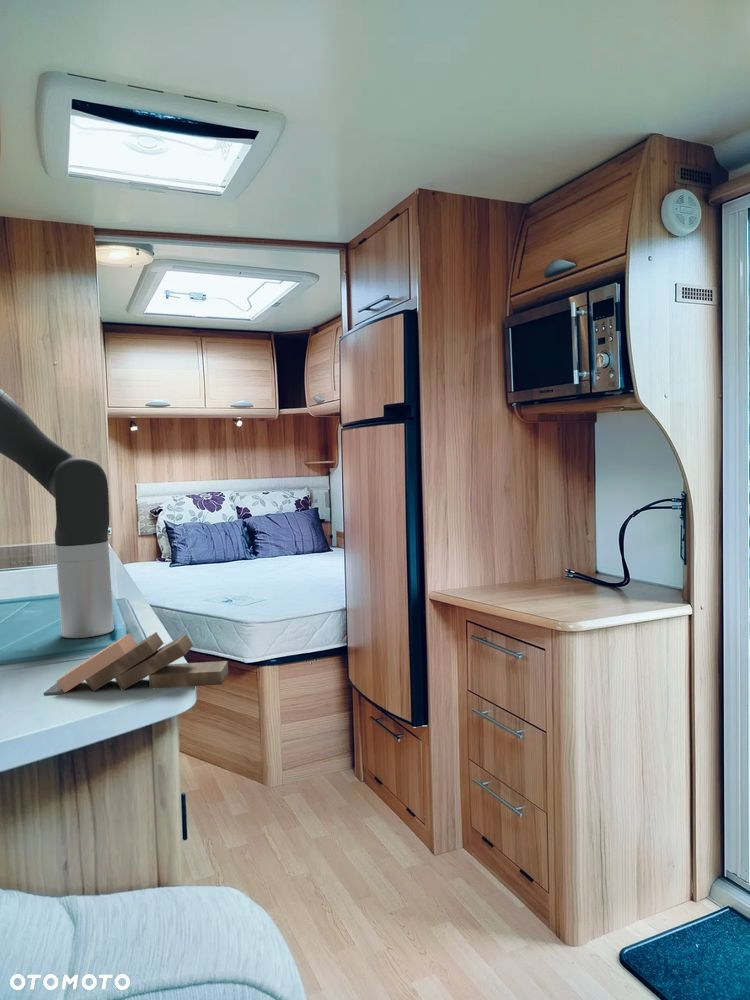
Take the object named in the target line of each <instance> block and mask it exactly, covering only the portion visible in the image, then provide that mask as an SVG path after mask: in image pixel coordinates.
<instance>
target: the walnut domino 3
mask: <svg viewBox="0 0 750 1000" xmlns="http://www.w3.org/2000/svg"><path fill="white" fill-rule="evenodd" d="M228 664H229V663H228V660H223V661H222V660H220V661H204V662H187V663H186V662H185V663H170V664H168V665H167V666H165V667H163V668H161V669H159V670H158V671H156V672H154V673H152V674H151V675H149V676H148V681H149V689H150V690H153V688H155V689H171V688H186V687H204V686H206V687H207V686H221V685H223V684H224V682H225V680H226V679H227V677H228V676H229V666H228Z"/></svg>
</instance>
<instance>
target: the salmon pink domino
mask: <svg viewBox="0 0 750 1000" xmlns="http://www.w3.org/2000/svg"><path fill="white" fill-rule="evenodd" d="M137 644H138V643H137V642H136V641H135V640H134V638H133V637H132V635H131V633H129V632H128V633H126V634H125V635H124V636H122V637H121V638H119V639H118V640H116V641H115V642H113V643H112V644H110V645H108V646H107V647H105V648H104V649H102V650H101V651H99V652H97V653H96V654H94V655H92V656H91V657H89V658H88V659H86V660H84V661H83V662H82V663H80V664H79V665H76V666H75V667H73V668H72V669H70V670H68V672H67V673H65V674H64V675H63V676H61V677H60V678H58V679H56V683H57V682H58V684H59V685H60V687H61V688H62V690H63V691H64V693H63V694H65V693H67V692H69V691H70V690H72V689H73V688H75V687H77V686H78V685H79V684H81V683H83V682H84V681H86V679H87V678H89V677H90V676H92V675H94V674H95V673H97V672H98V671H100V670H101V669H103V668H105V667H106V666H108V665H109V664H111V663H112V662H114V661H116V660H117V659H119V658H120V657H122V656H123V655H125V654H126V653H127V652H129V651H130V650H131V649H132V648H133V647H134V646H136V645H137Z"/></svg>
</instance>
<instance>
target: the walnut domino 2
mask: <svg viewBox="0 0 750 1000" xmlns="http://www.w3.org/2000/svg"><path fill="white" fill-rule="evenodd" d="M193 647H194V644H193V643H192V641H191V639H190V638H189V636H188V635H187V633H185V634H184V635H182V636H179V637H178V638H176V639H174V640H173V641H170V642H169V643H167V644H165V645H164V646H161V647H160V648H159V649H158V650H157V651H156V652H155V653H153V654H152V655H150V656H149V657H147V658H145V659H144V660H142V661H141V662H139V663H138V664H136V665H134V666H133V667H131V668H130V669H128V670H127V671H125V672H123V673H122V674H120V675H119V676H117V677H116V678H114V680H115V681H116V683H117V684H118V686H119V688H120V690H121V691H124V690H125V689H127V688H129V687H131V686H133V685H134V684H136V683H138V682H140V681H141V680H143V679H145V678H147V677H149V675H151V674H152V673H154V672H156V671H158V670H159V669H161V668H163V667H165V666H167V665H168V664H173V662H175V661H177V660H178V659H181V658H183V657H184V656H186V655H187V653H188V652H189V651H191V649H192V648H193Z"/></svg>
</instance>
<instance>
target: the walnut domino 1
mask: <svg viewBox="0 0 750 1000" xmlns="http://www.w3.org/2000/svg"><path fill="white" fill-rule="evenodd" d="M136 644H137V645H136V646H134V647H133V648H132V649H131V650H130V651H129V652H127V653H126V654H125V655H123V656H122V657H120V658H119V659H117V660H116V661H114V662H112V663H111V664H109V665H108V666H106V667H105V668H103V669H101V670H100V671H98V672H97V673H95V674H94V675H92V676H90V677H89V678H87V679H86V680H85V682H86V683H87V685H88V687H90V690H92V692H95V691H96V690H98V689H100V688H101V687H103V686H105V685H106V684H108V683H109V682H111V681H113V680H115V678H116V677H117V676H119V675H120V674H122V673H123V672H125V671H127V670H128V669H130V668H131V667H133V666H134V665H136V664H138V663H139V662H141V661H142V660H144V659H145V658H147V657H149V656H150V655H152V654H153V653H155V652H156V651H157V650H158V649H160V648H162V647H163V645H164V641H163V640H162V638H161V637H160V636H159V634H158V632H156V631H155V632H154V633H152V634H151V635H149V636H148V637H145V638H144V639H143V640H141V641H140V642H138V643H136Z"/></svg>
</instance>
